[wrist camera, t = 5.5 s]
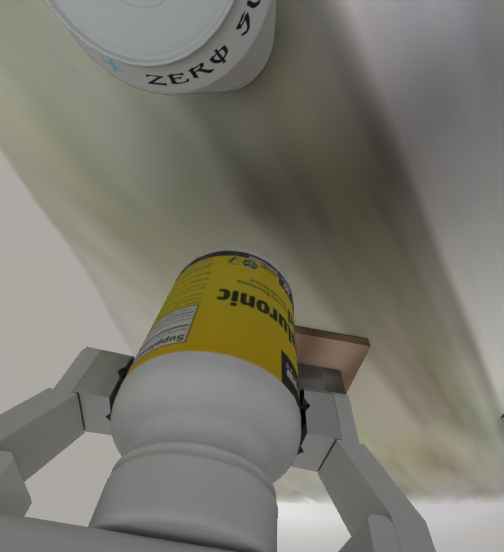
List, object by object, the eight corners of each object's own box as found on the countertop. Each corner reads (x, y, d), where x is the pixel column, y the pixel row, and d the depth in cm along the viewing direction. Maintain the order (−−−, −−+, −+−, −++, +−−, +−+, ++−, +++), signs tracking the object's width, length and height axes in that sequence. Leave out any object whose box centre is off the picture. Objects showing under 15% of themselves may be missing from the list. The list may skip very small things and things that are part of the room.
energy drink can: (164, 66, 20) (-29, 26, 7) (191, -58, 17) (-54, -504, 4) (251, 107, 21) (220, 137, 8) (291, -3, 18) (343, -231, 5)
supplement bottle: (315, 306, 15) (363, 592, 6) (228, 352, 17) (177, 618, 8) (243, 217, 13) (177, 469, 4) (153, 282, 15) (-8, 540, 6)
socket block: (367, 339, 31) (381, 375, 27) (314, 444, 40) (319, 482, 36) (225, 313, 30) (218, 346, 26) (205, 426, 39) (198, 463, 35)
